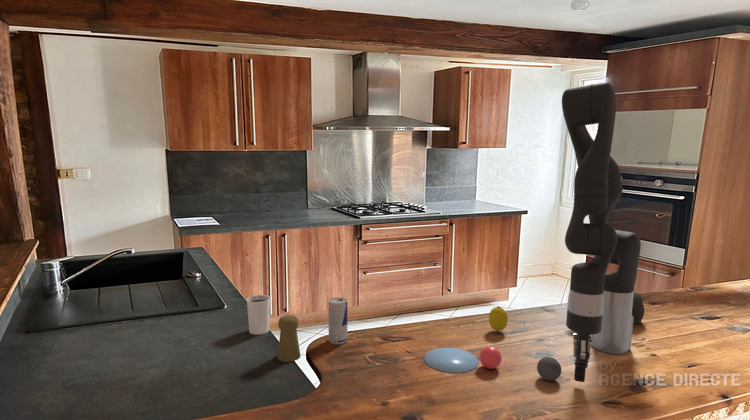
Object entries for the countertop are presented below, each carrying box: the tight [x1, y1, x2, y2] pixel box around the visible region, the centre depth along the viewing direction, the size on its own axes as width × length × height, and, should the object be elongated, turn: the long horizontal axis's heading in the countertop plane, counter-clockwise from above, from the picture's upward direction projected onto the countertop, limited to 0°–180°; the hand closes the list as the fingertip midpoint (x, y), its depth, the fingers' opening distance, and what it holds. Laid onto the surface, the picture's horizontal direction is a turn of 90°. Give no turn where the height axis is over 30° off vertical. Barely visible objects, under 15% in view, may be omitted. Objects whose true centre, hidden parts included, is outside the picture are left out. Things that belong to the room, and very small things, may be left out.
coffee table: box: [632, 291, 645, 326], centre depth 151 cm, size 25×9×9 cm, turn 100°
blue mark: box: [423, 347, 479, 374], centre depth 125 cm, size 14×14×1 cm
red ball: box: [478, 345, 502, 370], centre depth 120 cm, size 6×6×6 cm
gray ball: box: [536, 356, 562, 382], centre depth 115 cm, size 6×6×6 cm
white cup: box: [246, 294, 271, 336], centre depth 142 cm, size 7×7×10 cm
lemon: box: [488, 305, 509, 333], centre depth 143 cm, size 6×6×8 cm
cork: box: [276, 314, 301, 363], centre depth 125 cm, size 6×6×11 cm
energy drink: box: [327, 297, 348, 346], centre depth 135 cm, size 5×5×12 cm
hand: (579, 380), depth 112 cm, fingers closed
